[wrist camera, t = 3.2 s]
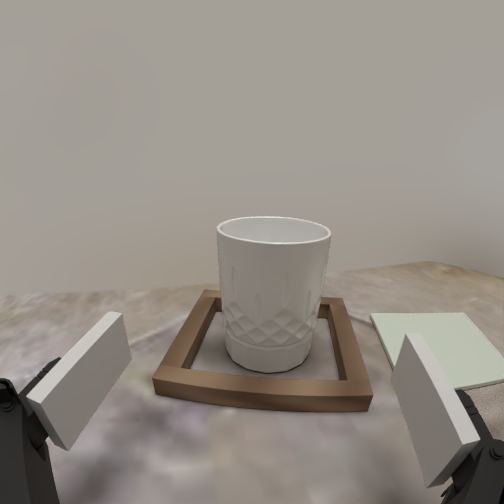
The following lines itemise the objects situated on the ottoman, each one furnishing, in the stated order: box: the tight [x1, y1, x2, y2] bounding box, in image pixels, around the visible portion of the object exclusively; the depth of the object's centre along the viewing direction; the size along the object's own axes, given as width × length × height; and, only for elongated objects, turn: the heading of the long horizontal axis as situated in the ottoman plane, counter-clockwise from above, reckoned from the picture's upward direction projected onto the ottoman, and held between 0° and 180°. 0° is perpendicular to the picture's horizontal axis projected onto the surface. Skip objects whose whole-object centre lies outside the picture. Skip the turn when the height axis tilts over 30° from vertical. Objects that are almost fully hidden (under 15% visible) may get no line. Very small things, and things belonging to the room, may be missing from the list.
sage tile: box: [370, 312, 504, 390], centre depth 22 cm, size 12×12×1 cm
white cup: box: [216, 216, 331, 373], centre depth 22 cm, size 8×8×10 cm
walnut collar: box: [152, 290, 373, 412], centre depth 24 cm, size 14×14×2 cm
